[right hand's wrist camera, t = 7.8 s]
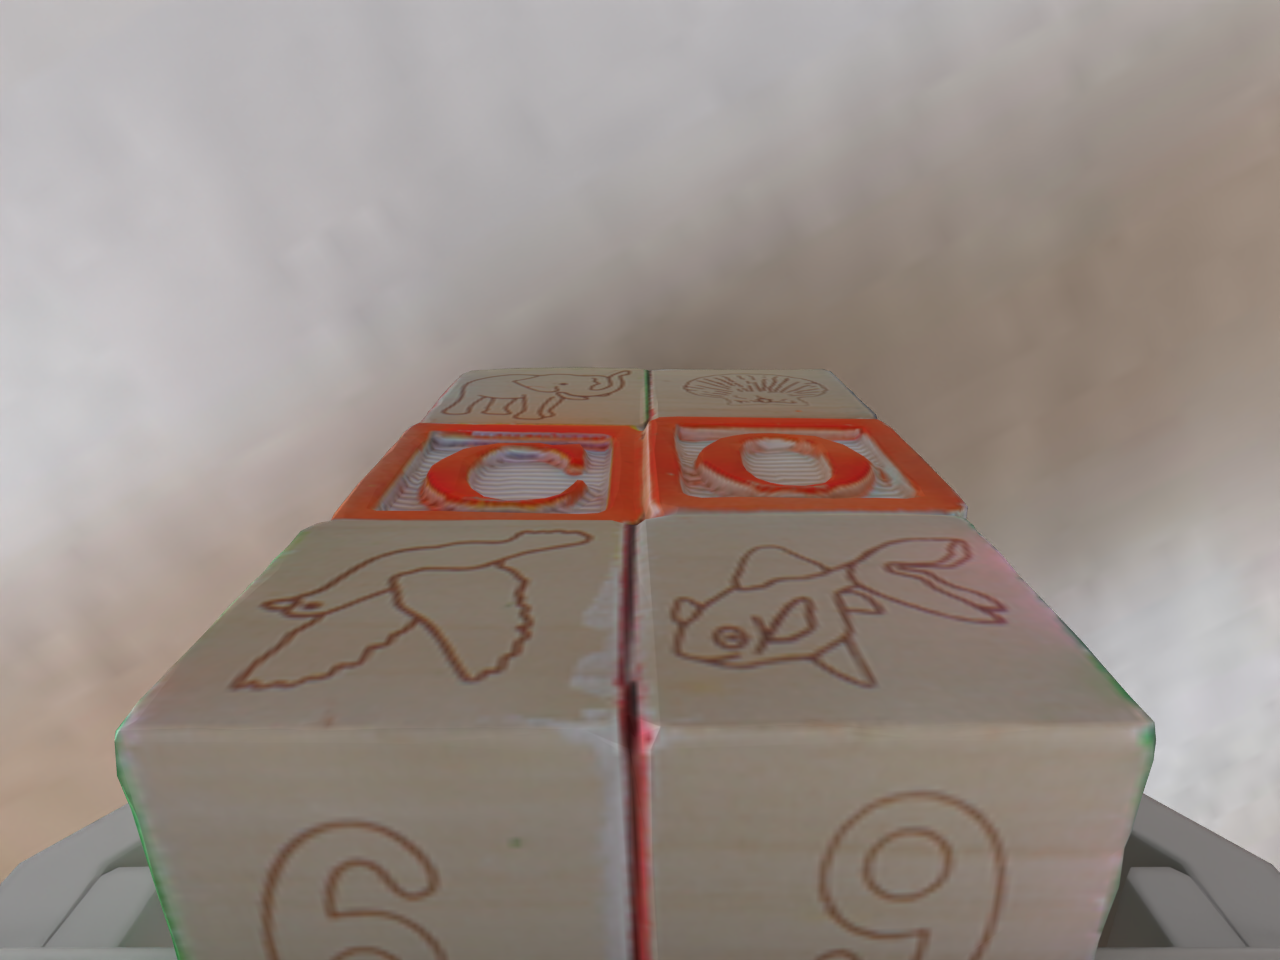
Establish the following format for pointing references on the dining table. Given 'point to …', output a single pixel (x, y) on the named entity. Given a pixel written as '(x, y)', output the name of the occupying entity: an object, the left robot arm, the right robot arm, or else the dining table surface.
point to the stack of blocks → (639, 702)
